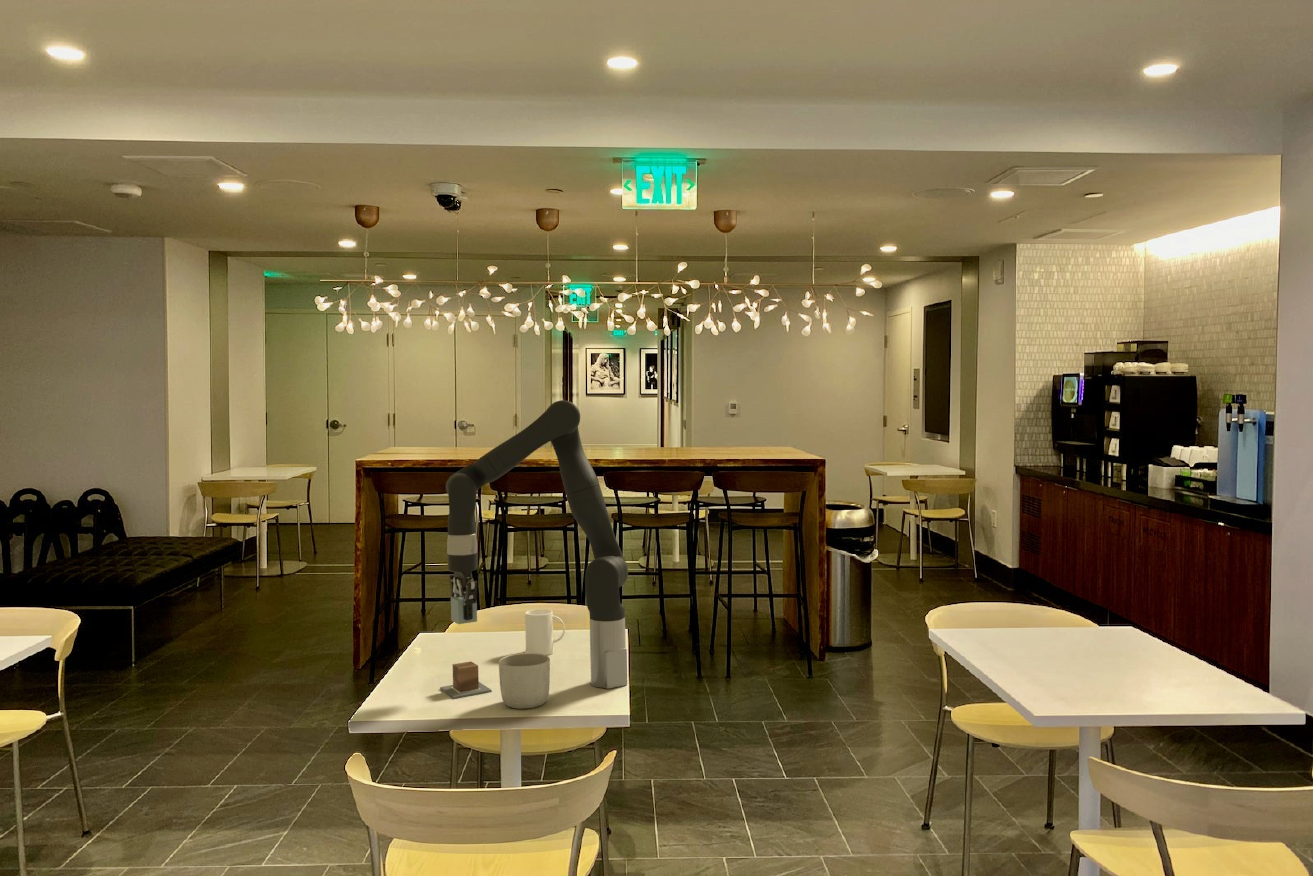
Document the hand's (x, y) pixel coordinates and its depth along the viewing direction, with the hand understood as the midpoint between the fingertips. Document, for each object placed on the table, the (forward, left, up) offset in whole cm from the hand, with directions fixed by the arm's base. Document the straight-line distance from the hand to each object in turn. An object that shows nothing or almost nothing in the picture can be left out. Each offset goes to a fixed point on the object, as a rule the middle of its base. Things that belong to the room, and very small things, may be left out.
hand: (464, 617), depth 243 cm
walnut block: (0, 0, -18) cm, 18 cm away
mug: (+22, -33, -19) cm, 44 cm away
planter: (-19, -8, -19) cm, 28 cm away
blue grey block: (0, 0, -1) cm, 1 cm away
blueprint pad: (0, 0, -19) cm, 19 cm away
